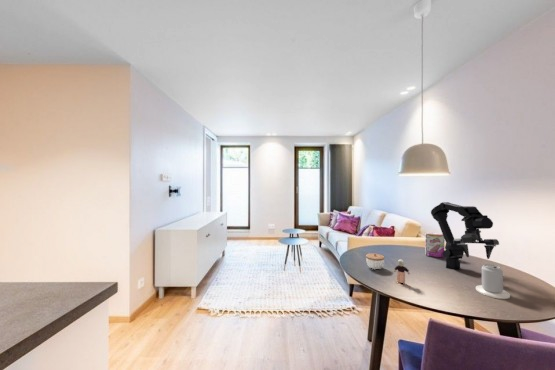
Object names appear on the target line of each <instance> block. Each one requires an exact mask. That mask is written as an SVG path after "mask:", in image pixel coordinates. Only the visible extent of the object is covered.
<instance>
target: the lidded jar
mask: <svg viewBox="0 0 555 370" xmlns="http://www.w3.org/2000/svg"><path fill="white" fill-rule="evenodd" d="M365 262H366V265H367V266H368V267H369V269H371V268H373V269H380V270H381V269H382V268H383V267H384V265H385V256H384V255H382V254H380V253H379V254H378V253H376V252H373V253H367V254H366V255H365ZM373 269H372V270H373Z"/></svg>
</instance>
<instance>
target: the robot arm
mask: <svg viewBox="0 0 555 370" xmlns="http://www.w3.org/2000/svg"><path fill="white" fill-rule="evenodd" d="M450 211H452V212H455V213H458V214H459V215H460V216H462V217H463V218H461V222H464V225H465V227H464V228H465V230H464V234H463V235H461V236H460V238H455V237H454V235H453V232H452V229H451V227H450V225H449V222H448V216H449V215H448V213H449V212H450ZM430 214H431V216H432V218H433V219H434V220H435V221H436V222H437V223H438V226H439V228H440V230H441V234H443V236H444V242H445V244H444V252H443V253H442V254H443V257H444V258H445V262H446V263H445V268H446V269H450V270H458V271H459V270H460V269H461V261H460V259H461V260H462V259H463V257H464V255H465V256H466V258H470V252H469V244H484V245H483V246H484V248H485V254H486V259H487V260H489V259H490V258H491V255H492V252H493V250H494V248H495V247H497V246H499V245H500V241H499V240H498V239H496V238H486V239H485V238H484V239H483V238H482V236H481V233H482V231H481V230H482V229H483V230H486V229H491V228H493V226H494V222H493V221H492V219H491V218H490V217H489V216H488V215H483V214H482V212H481V211H480V210H479V209H478V208H477V207H476V206H475V205H469V206H467V205H466V206H464V205H460V204H455V203H451V202H448V201H447V202H445V201H443V202H440V203H439V204H438V205H436V206H434V207H433V208H432V209H431V210H430ZM480 229H481V230H480Z"/></svg>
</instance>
